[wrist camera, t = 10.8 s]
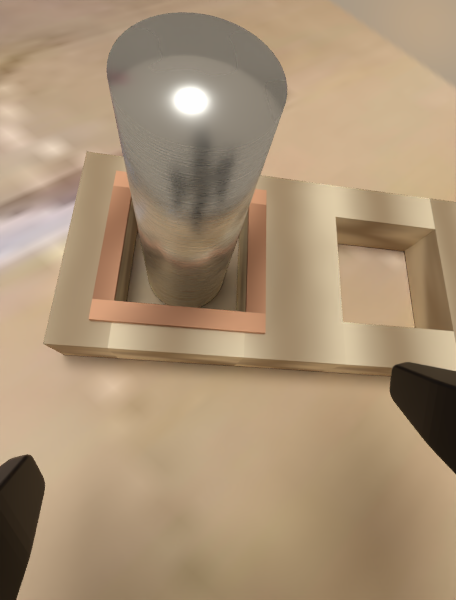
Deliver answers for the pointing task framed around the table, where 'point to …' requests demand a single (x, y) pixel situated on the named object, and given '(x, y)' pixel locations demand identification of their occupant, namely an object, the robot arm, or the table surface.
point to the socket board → (261, 281)
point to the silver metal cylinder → (192, 142)
